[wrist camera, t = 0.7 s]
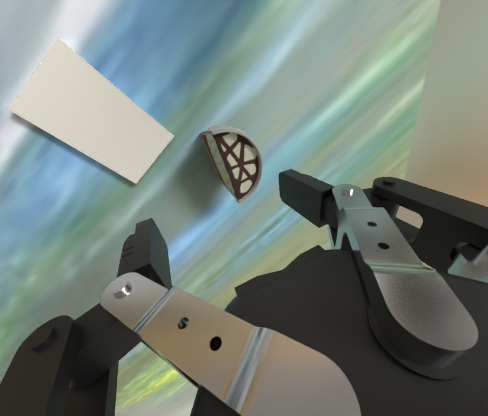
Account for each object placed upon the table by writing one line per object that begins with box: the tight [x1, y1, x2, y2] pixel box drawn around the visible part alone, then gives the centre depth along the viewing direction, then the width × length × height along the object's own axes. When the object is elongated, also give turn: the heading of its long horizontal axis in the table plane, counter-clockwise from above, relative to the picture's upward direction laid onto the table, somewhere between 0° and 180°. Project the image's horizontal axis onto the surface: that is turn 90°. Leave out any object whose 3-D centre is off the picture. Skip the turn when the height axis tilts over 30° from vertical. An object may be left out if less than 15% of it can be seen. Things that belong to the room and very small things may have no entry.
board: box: [8, 38, 174, 184], centre depth 26 cm, size 10×15×1 cm, turn 44°
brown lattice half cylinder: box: [200, 126, 262, 204], centre depth 31 cm, size 12×6×10 cm, turn 18°
